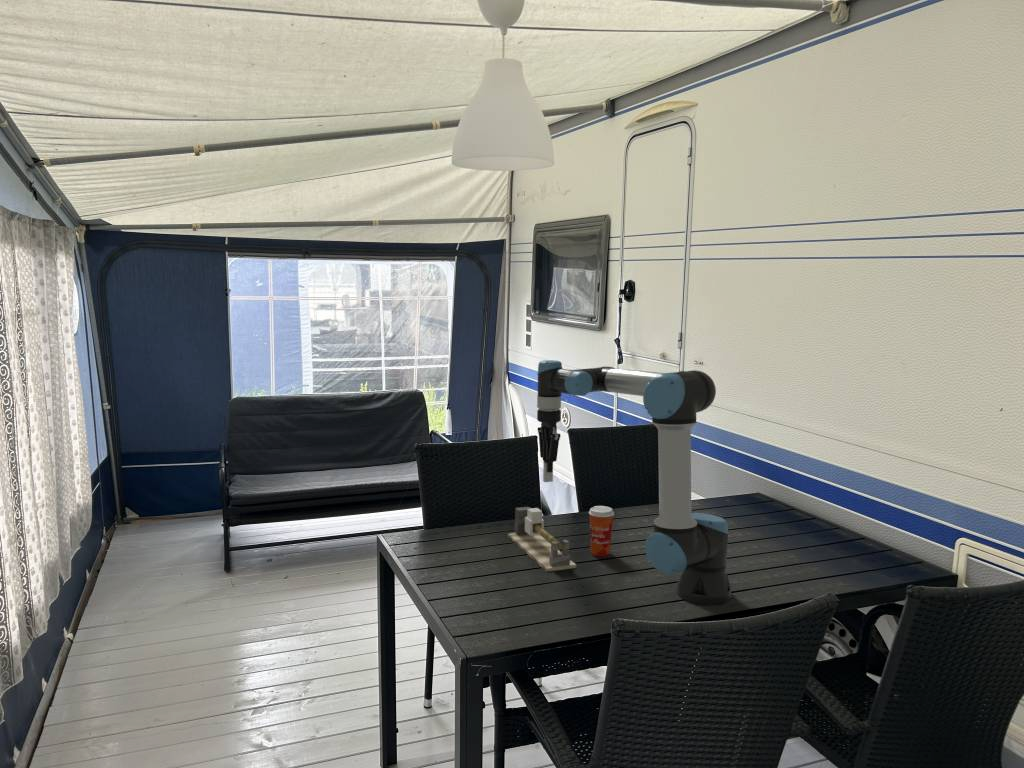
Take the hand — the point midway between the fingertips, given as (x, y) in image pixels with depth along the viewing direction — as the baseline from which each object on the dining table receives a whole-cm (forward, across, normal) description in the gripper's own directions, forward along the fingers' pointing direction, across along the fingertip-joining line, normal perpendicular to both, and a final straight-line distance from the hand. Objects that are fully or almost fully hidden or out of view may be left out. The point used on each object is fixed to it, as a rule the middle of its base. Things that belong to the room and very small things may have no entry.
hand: (547, 481), depth 247 cm
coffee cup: (+25, -5, -17) cm, 30 cm away
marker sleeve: (+20, +8, +1) cm, 21 cm away
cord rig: (+24, +3, +1) cm, 24 cm away
